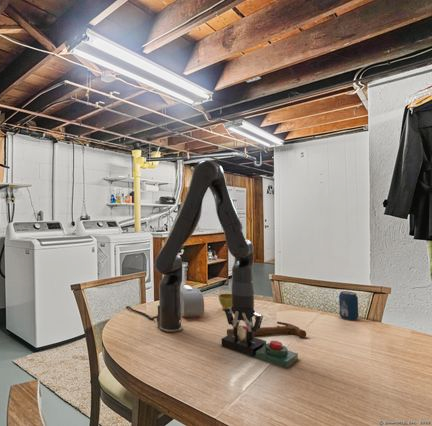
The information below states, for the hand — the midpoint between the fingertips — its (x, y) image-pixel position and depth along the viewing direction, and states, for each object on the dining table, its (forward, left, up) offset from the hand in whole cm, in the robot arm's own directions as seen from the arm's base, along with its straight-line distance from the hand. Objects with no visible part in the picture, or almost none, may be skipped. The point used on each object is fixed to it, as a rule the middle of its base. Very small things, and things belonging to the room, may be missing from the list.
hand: (243, 338), depth 112 cm
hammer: (-2, +18, -4) cm, 18 cm away
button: (+11, 0, 0) cm, 12 cm away
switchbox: (+11, 0, -3) cm, 12 cm away
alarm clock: (-38, +18, -4) cm, 42 cm away
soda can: (+16, +66, -4) cm, 68 cm away
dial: (0, 0, 0) cm, 0 cm away
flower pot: (-28, +38, -4) cm, 47 cm away
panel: (0, 0, -3) cm, 3 cm away
